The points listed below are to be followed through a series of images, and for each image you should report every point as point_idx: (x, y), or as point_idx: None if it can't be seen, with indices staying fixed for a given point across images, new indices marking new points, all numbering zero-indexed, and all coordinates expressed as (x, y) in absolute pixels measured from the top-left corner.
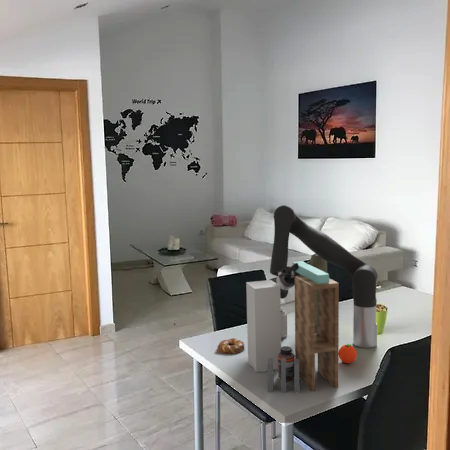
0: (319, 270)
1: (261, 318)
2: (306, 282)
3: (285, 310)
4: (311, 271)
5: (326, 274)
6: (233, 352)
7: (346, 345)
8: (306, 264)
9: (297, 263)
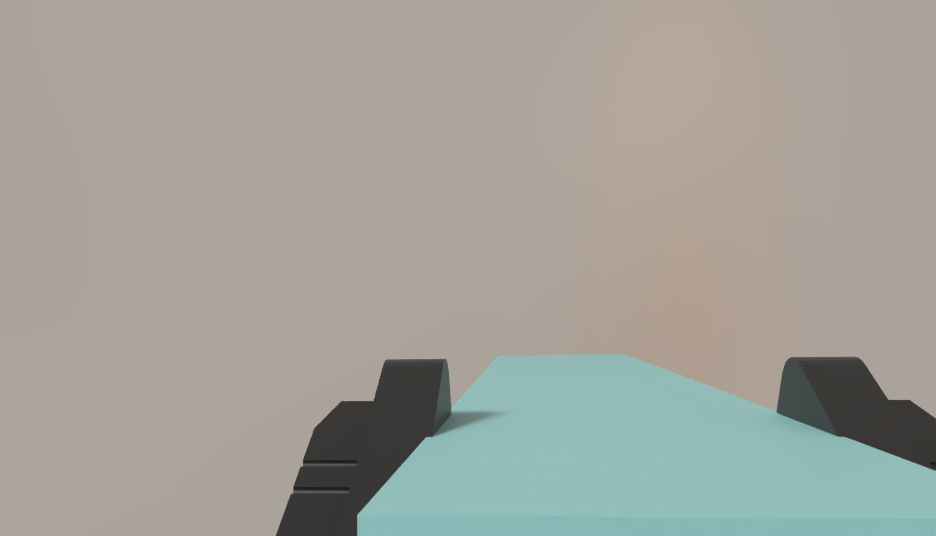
0: (512, 365)
1: None
2: None
3: None
4: (640, 364)
5: (527, 355)
6: None
7: None
8: (515, 411)
9: (798, 370)
